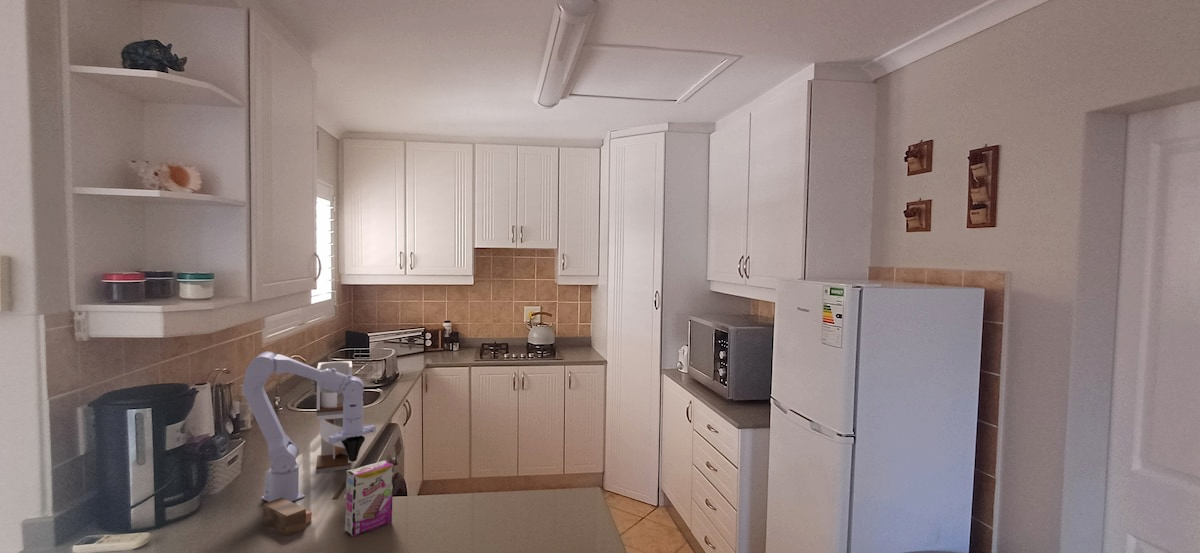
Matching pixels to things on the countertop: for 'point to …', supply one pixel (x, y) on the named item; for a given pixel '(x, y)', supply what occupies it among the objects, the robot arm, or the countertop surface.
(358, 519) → the candy bar box
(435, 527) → the countertop surface
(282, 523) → the tan wooden box
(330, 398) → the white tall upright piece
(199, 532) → the countertop surface
